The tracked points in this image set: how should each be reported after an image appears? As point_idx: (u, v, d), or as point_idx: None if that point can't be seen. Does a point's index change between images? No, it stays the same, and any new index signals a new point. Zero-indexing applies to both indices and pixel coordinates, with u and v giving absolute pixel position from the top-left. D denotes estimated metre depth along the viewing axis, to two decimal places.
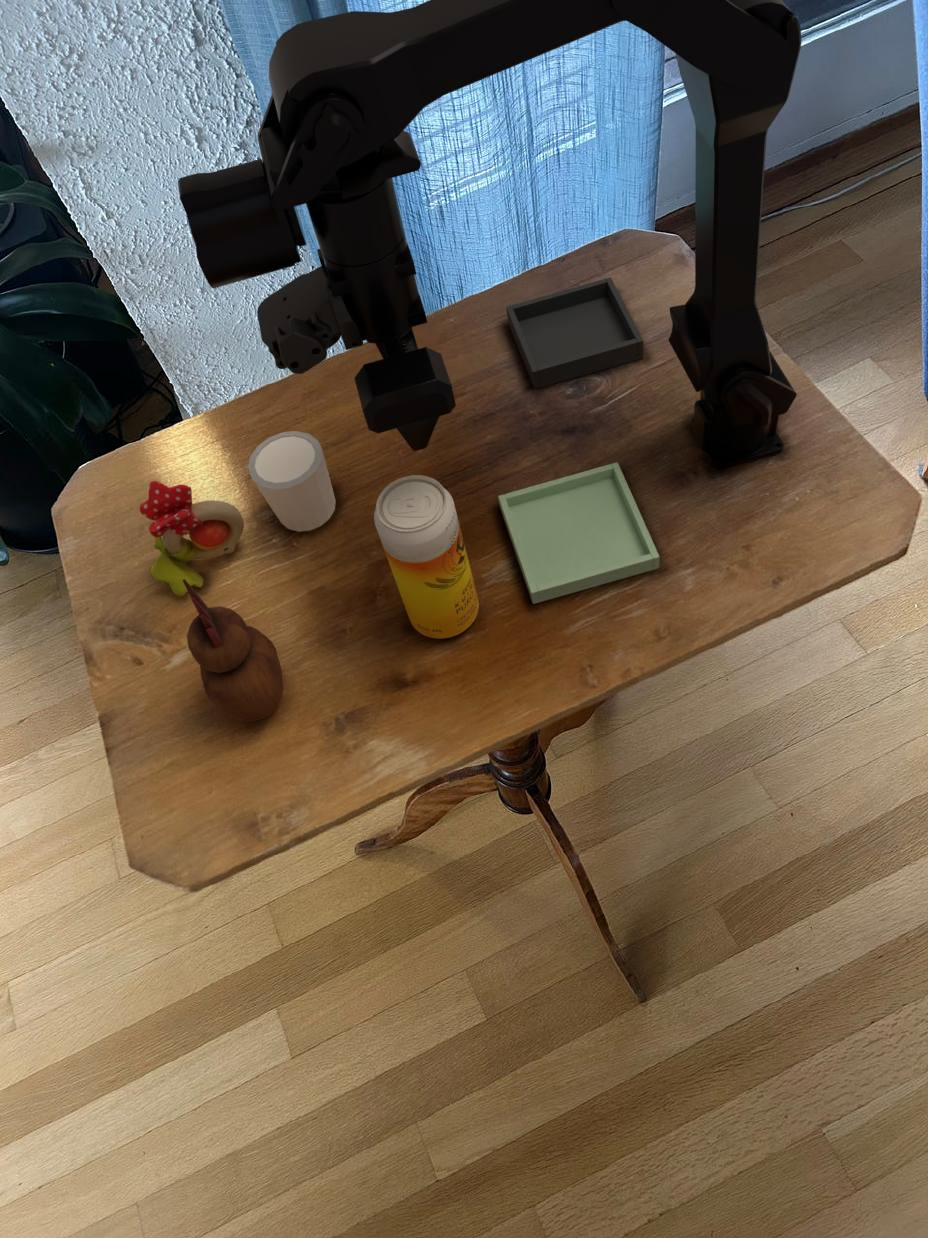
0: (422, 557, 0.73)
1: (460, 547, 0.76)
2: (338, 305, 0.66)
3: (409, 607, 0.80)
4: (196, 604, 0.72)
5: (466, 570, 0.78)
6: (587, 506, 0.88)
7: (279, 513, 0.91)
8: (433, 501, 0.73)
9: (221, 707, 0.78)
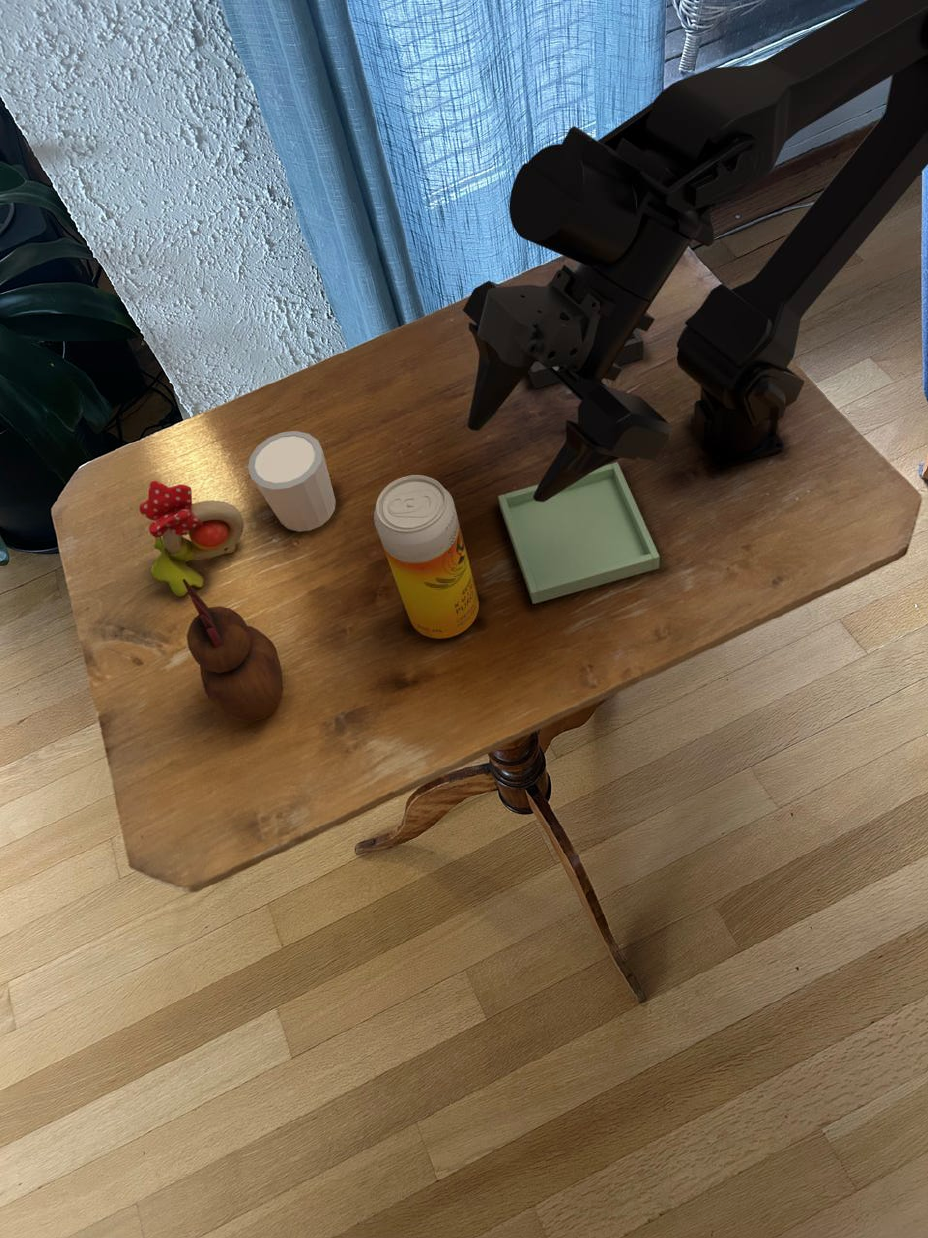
0: (422, 557, 0.73)
1: (460, 547, 0.76)
2: (594, 323, 0.66)
3: (409, 607, 0.80)
4: (196, 604, 0.72)
5: (466, 570, 0.78)
6: (587, 506, 0.88)
7: (279, 513, 0.91)
8: (433, 501, 0.73)
9: (221, 707, 0.78)
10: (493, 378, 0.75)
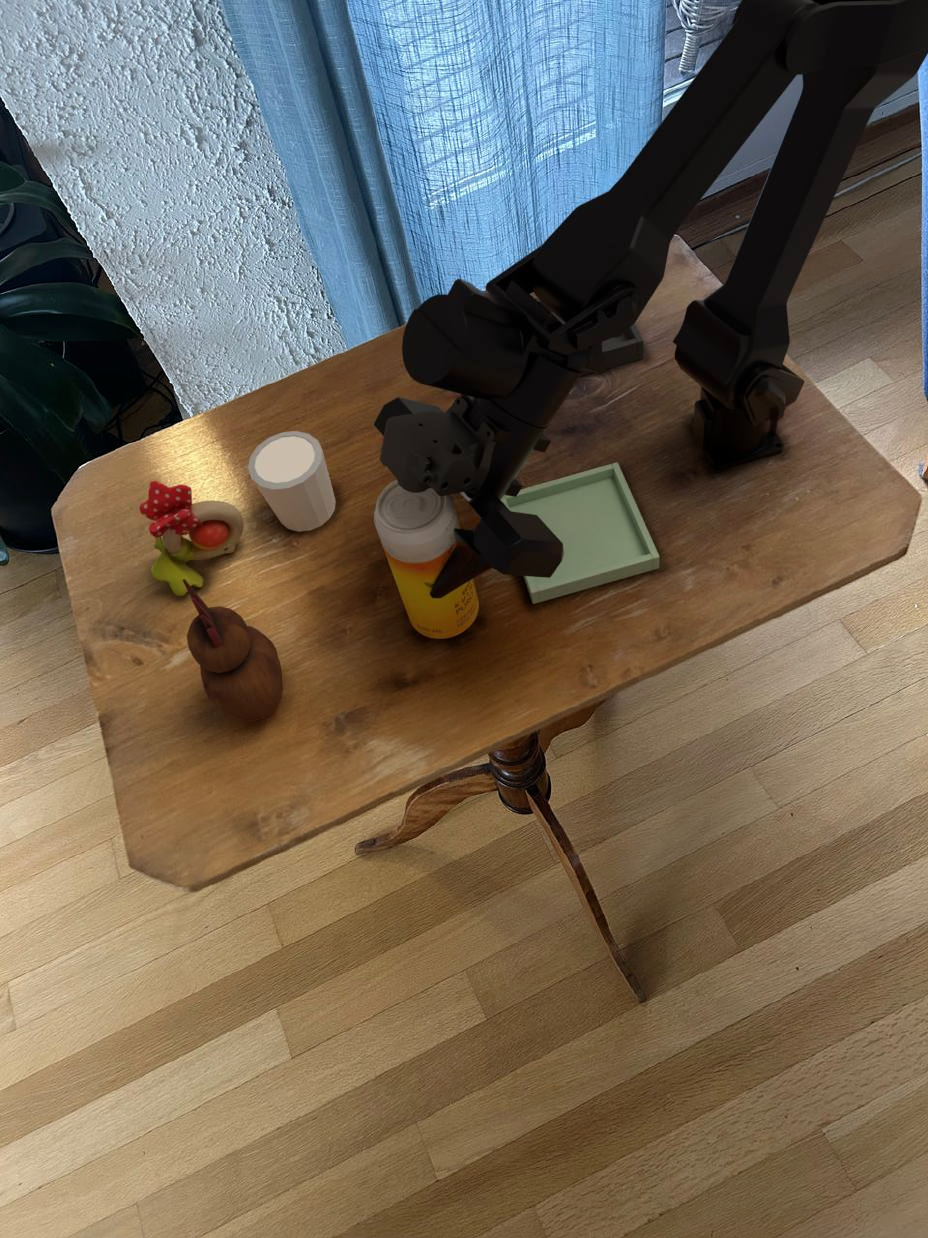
0: (421, 557, 0.73)
1: None
2: (489, 450, 0.69)
3: (409, 607, 0.80)
4: (196, 604, 0.72)
5: None
6: (587, 506, 0.88)
7: (279, 513, 0.91)
8: (433, 501, 0.73)
9: (221, 707, 0.78)
10: None
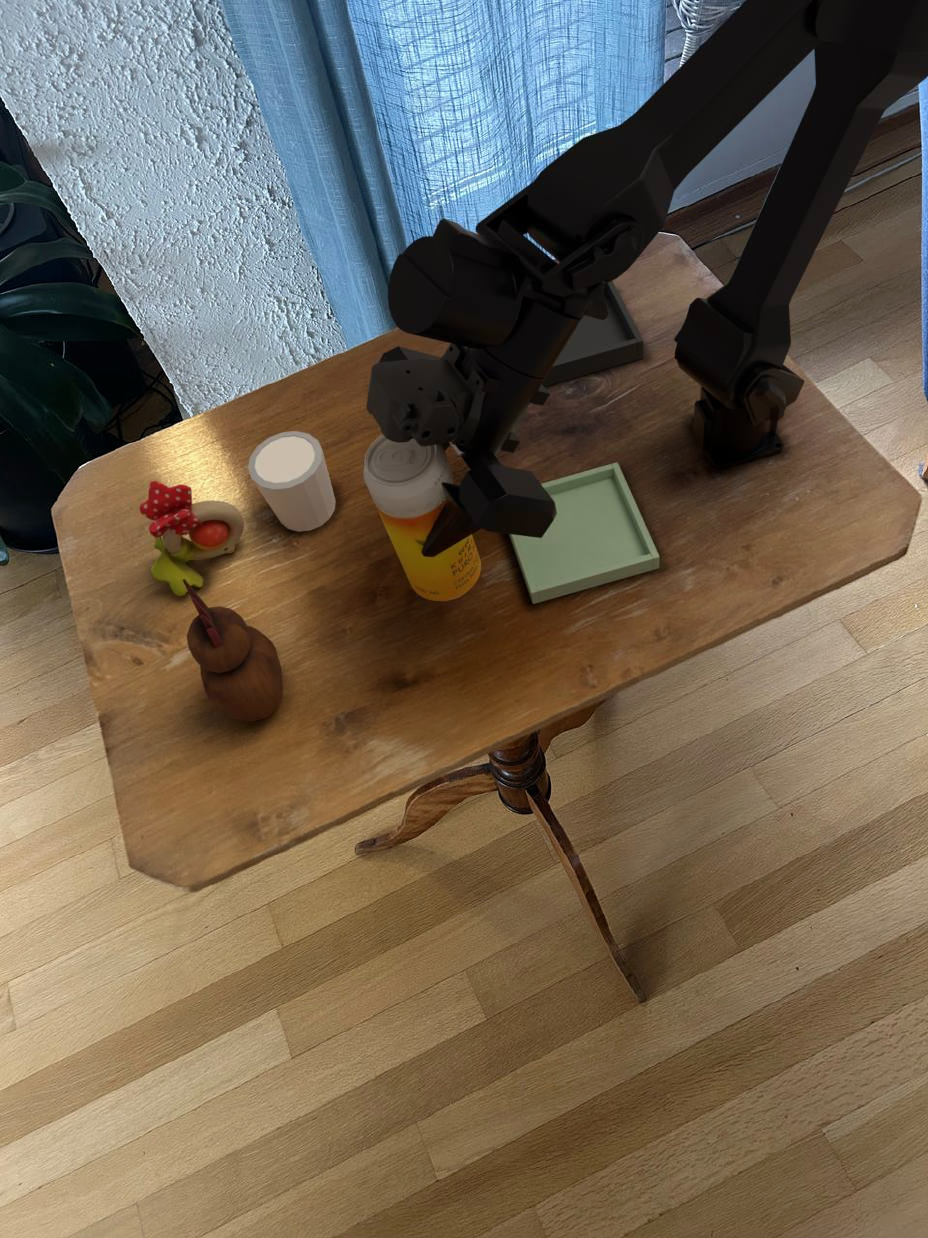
0: (410, 512, 0.70)
1: None
2: (478, 400, 0.66)
3: (405, 566, 0.78)
4: (196, 604, 0.72)
5: None
6: (587, 506, 0.88)
7: (279, 513, 0.91)
8: (423, 454, 0.69)
9: (221, 707, 0.78)
10: None
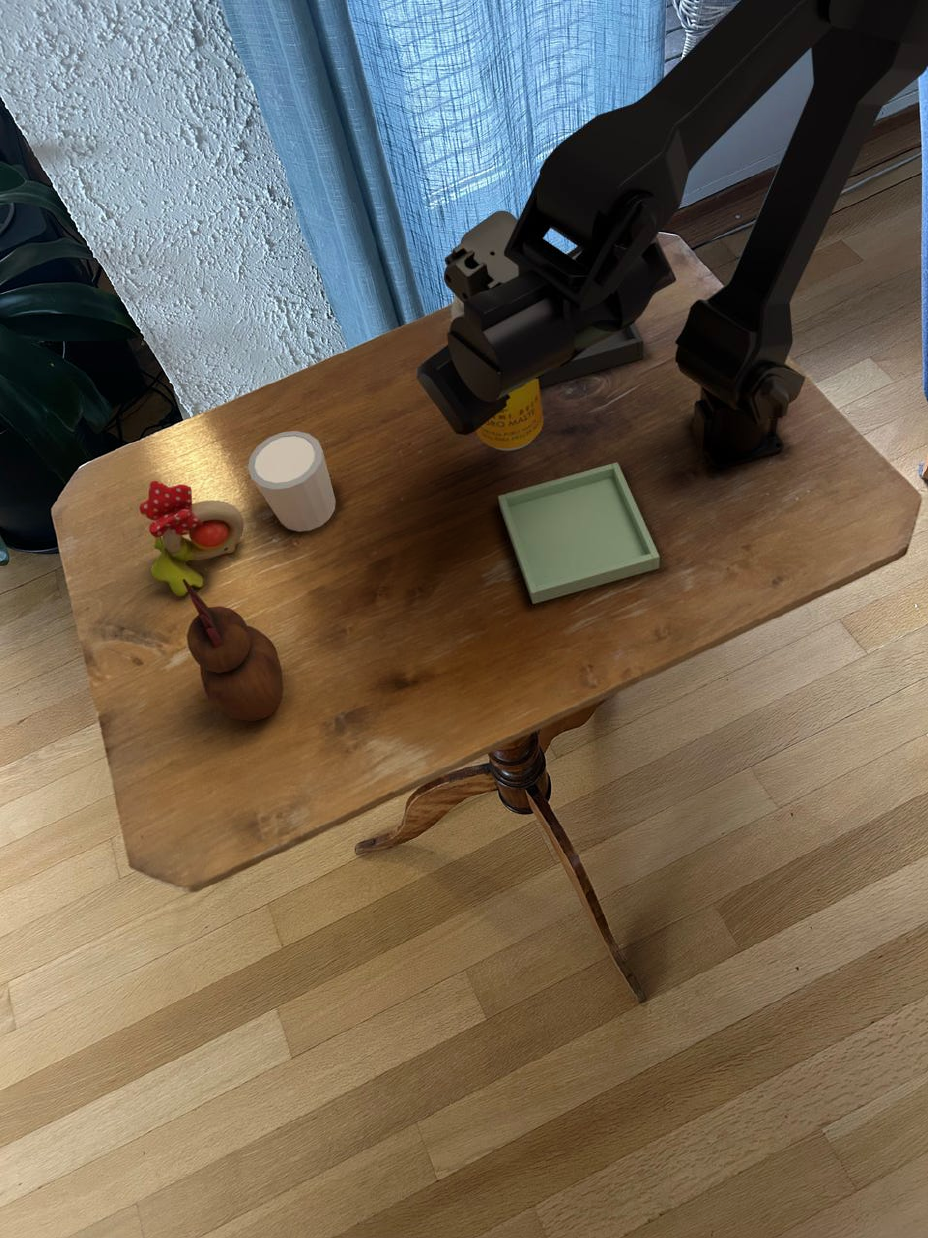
0: None
1: None
2: None
3: None
4: (196, 604, 0.72)
5: None
6: (587, 506, 0.88)
7: (279, 513, 0.91)
8: None
9: (221, 707, 0.78)
10: None
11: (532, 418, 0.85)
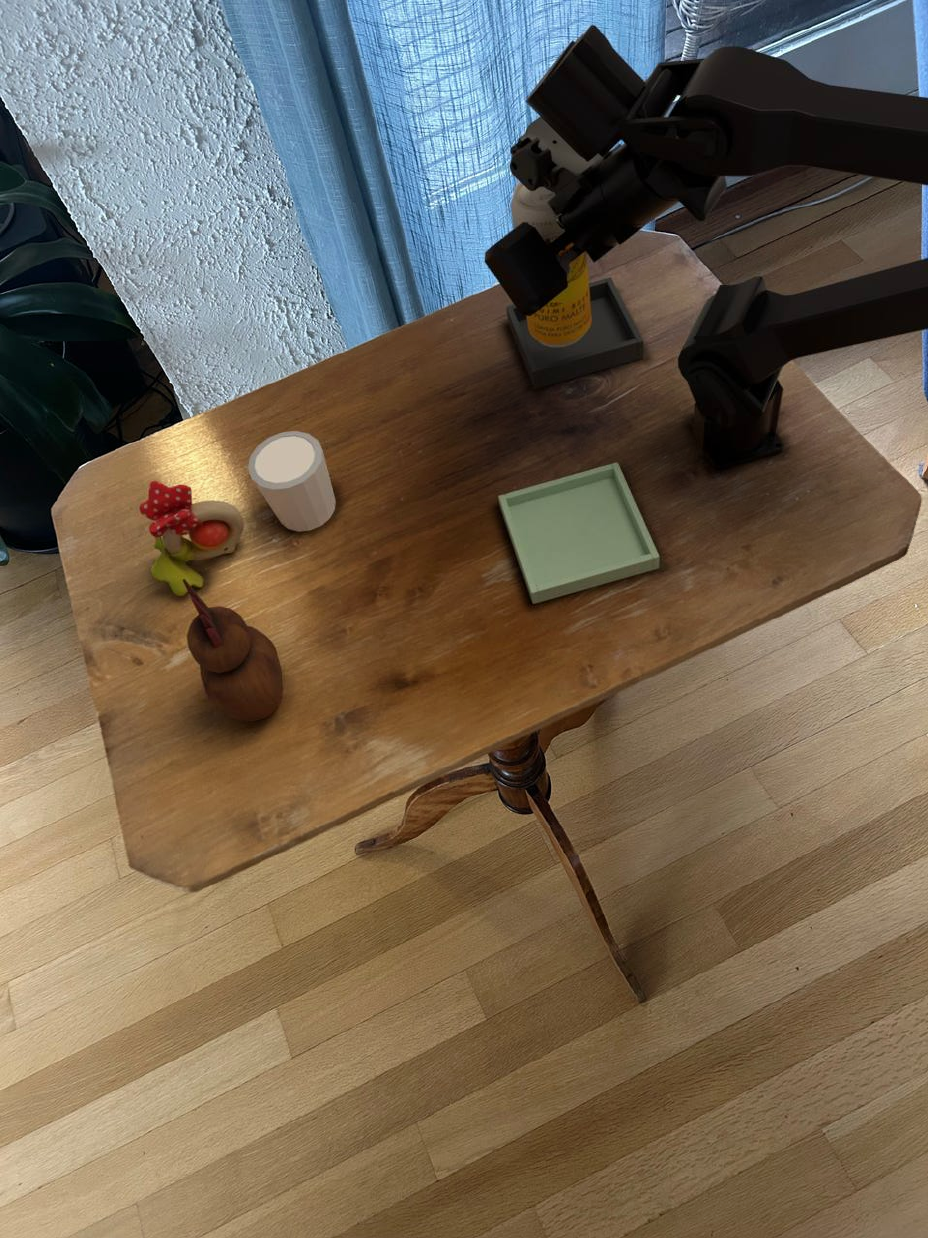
0: None
1: None
2: (573, 187, 0.76)
3: None
4: (196, 604, 0.72)
5: None
6: (587, 506, 0.88)
7: (279, 513, 0.91)
8: None
9: (221, 707, 0.78)
10: None
11: (583, 313, 0.91)
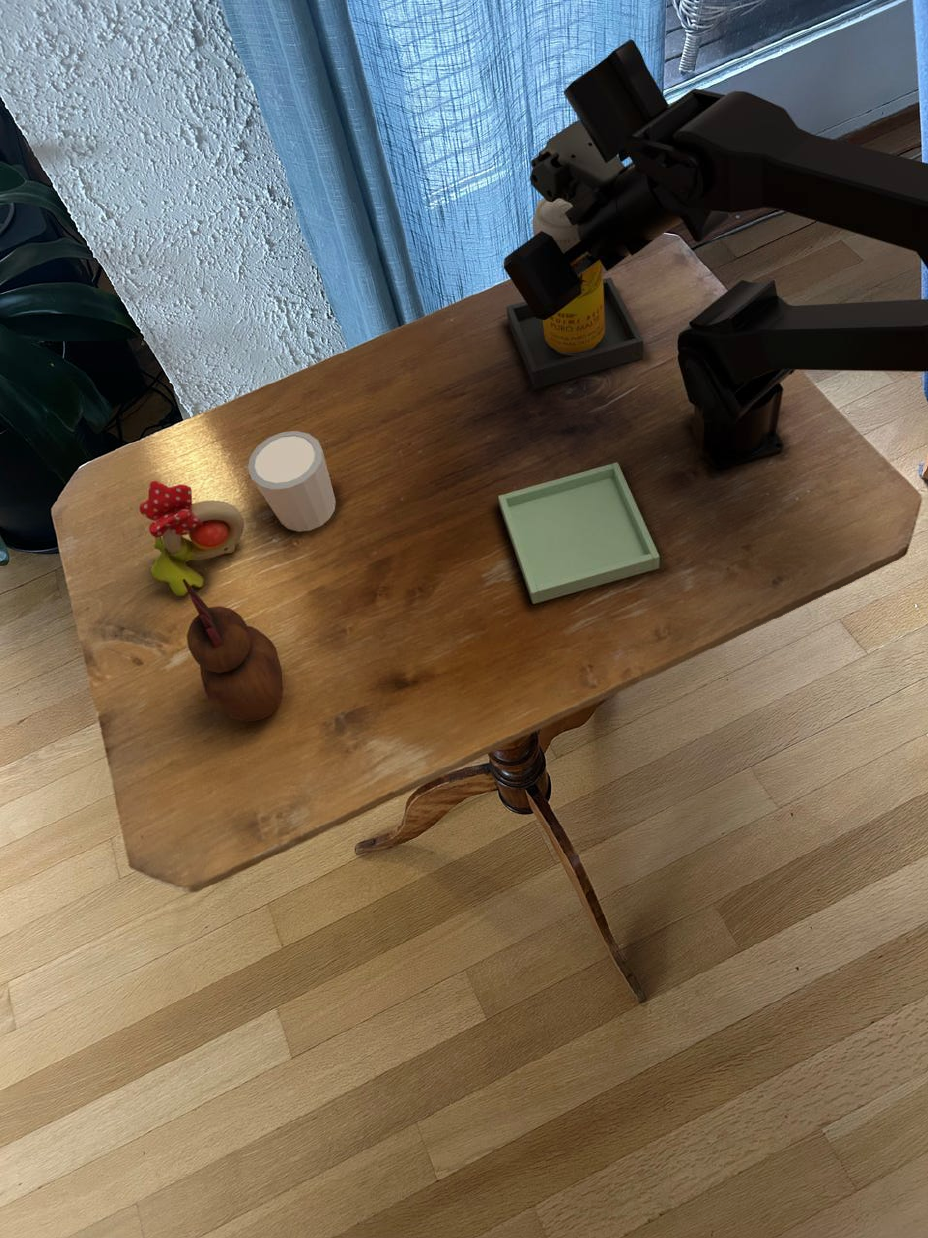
0: None
1: None
2: (589, 199, 0.81)
3: None
4: (196, 604, 0.72)
5: None
6: (587, 506, 0.88)
7: (279, 513, 0.91)
8: None
9: (221, 707, 0.78)
10: None
11: (597, 324, 0.96)
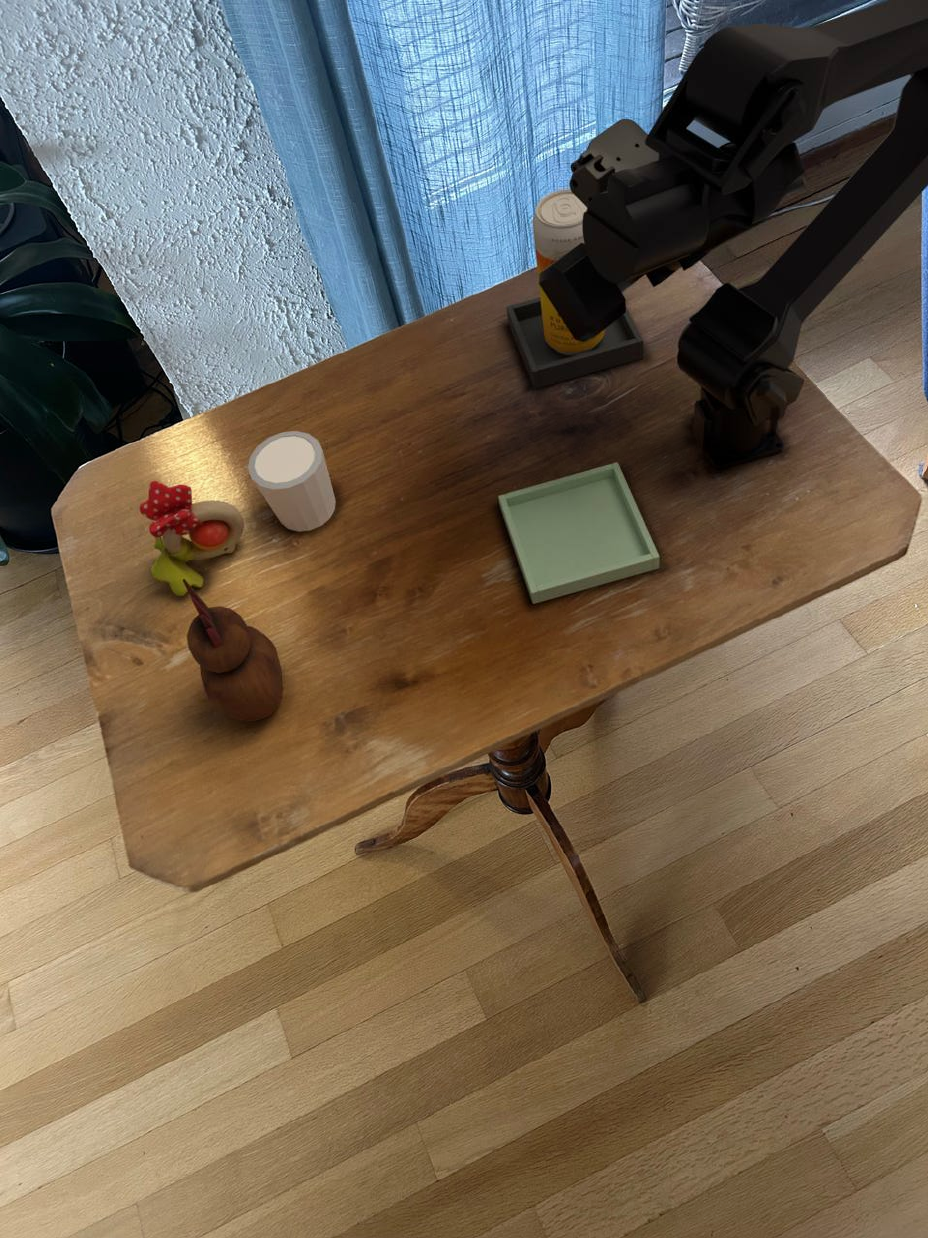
0: (535, 243, 0.90)
1: None
2: None
3: None
4: (196, 604, 0.72)
5: None
6: (587, 506, 0.88)
7: (279, 513, 0.91)
8: (570, 219, 0.87)
9: (221, 707, 0.78)
10: None
11: None
